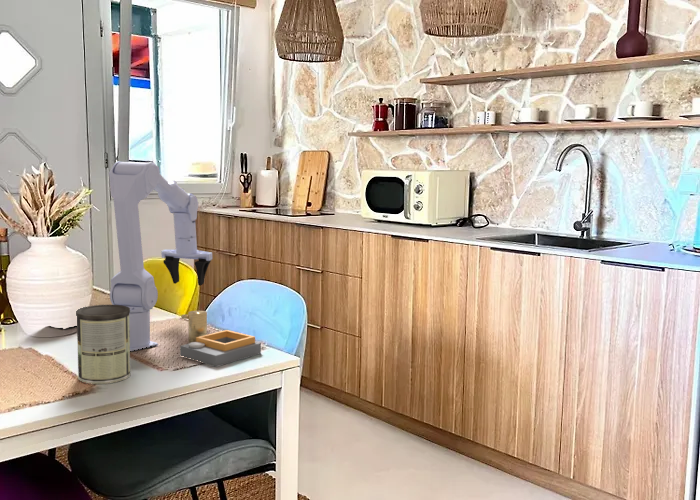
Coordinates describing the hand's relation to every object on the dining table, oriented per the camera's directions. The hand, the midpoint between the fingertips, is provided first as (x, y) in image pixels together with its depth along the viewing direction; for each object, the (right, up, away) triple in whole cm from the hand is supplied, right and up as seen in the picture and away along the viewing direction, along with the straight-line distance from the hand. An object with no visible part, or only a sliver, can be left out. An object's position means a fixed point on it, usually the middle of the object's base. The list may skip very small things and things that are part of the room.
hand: (188, 283), depth 185 cm
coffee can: (-5, -17, -49) cm, 52 cm away
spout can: (+8, -14, -23) cm, 28 cm away
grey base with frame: (+15, -15, -31) cm, 38 cm away
